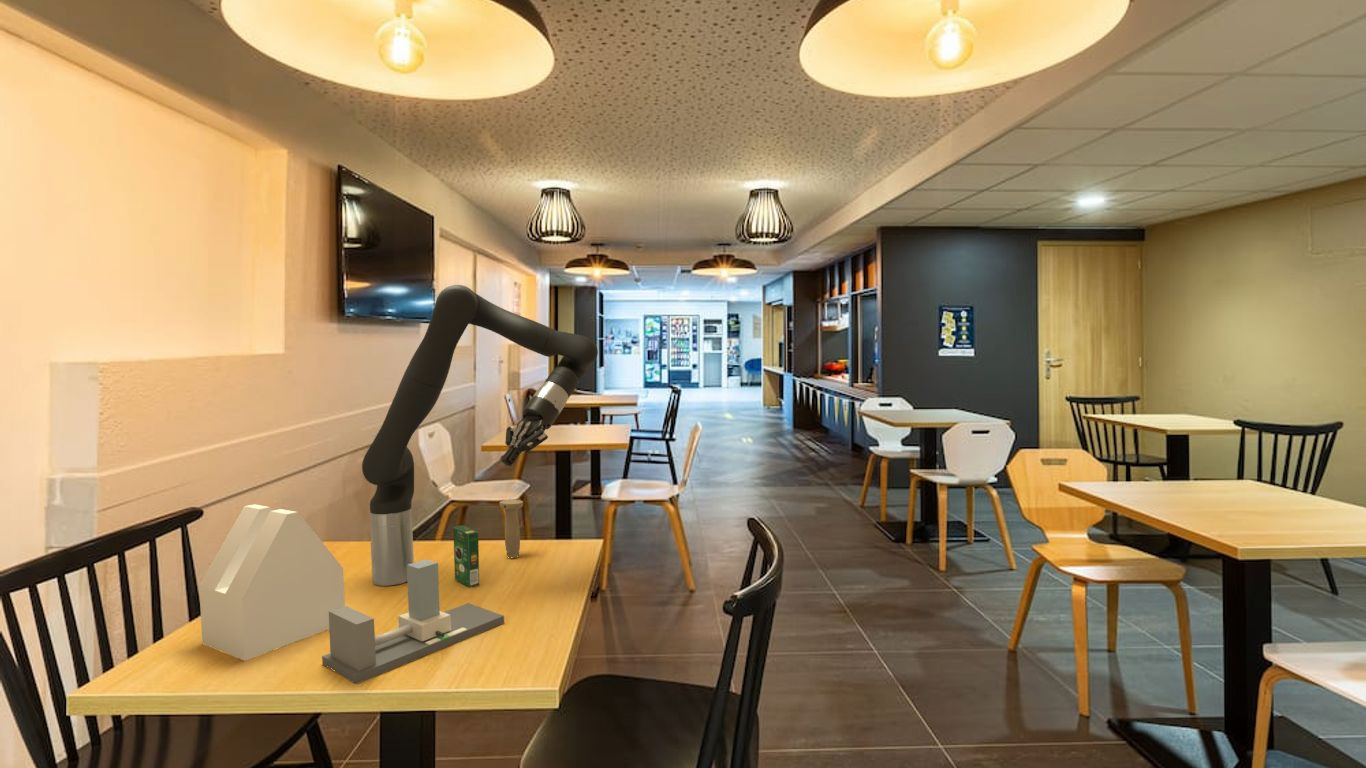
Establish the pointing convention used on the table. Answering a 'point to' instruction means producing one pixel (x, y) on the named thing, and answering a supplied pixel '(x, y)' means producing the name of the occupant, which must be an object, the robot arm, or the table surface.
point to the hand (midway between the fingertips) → (505, 463)
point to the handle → (512, 526)
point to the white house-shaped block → (268, 584)
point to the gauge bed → (393, 641)
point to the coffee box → (466, 556)
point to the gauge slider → (421, 606)
